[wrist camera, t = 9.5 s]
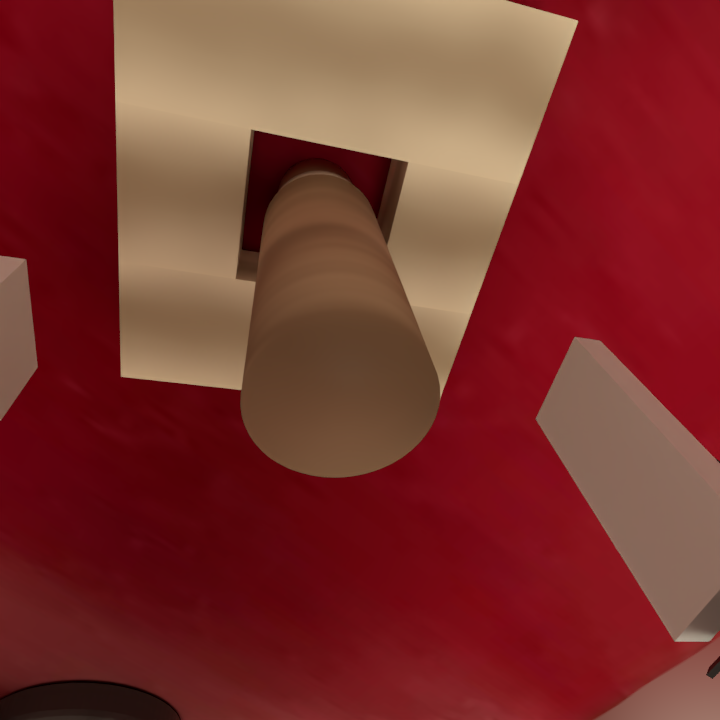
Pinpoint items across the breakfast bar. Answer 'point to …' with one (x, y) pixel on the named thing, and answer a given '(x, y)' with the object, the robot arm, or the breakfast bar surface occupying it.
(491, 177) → the board
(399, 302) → the peg
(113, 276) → the breakfast bar surface
